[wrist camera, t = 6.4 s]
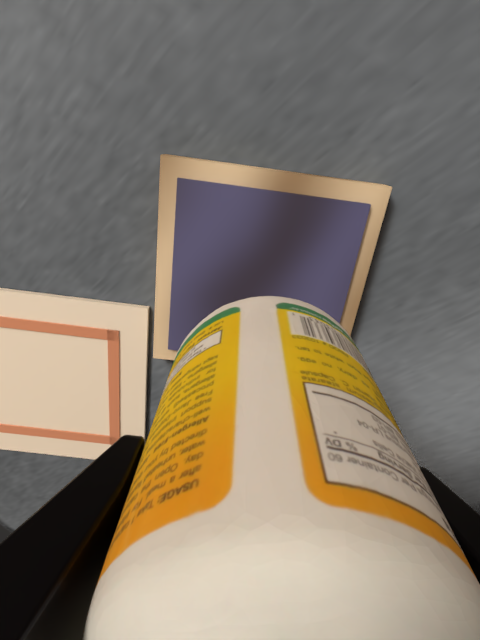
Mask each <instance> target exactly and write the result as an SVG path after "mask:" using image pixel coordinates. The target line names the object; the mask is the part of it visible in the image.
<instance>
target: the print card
mask: <svg viewBox="0 0 480 640" xmlns="http://www.w3.org/2000/svg"><path fill="white" fill-rule="evenodd" d="M148 334H149V306H142V305H134V304H126V303H118V302H110V301H102V300H94V299H86V298H78V297H70V296H62V295H54V294H46V293H38V292H30V291H22V290H14V289H6V288H0V449H4V450H13V451H23V452H32V453H41V454H50V455H59V456H68V457H78V458H87V459H97V458H98V457H99V456H100V455H101V454H102V453H104V452H105V451H106V450H107V449H108V448H109V447H110V446H111V445H113V444H114V443H115V442H116V441H117V440H118V439H119V438H121V437H122V436H123V435H135V436H142V437H143V438H144V441H145V434H146V401H147V368H148Z"/></svg>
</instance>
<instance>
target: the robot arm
mask: <svg viewBox="0 0 480 640" xmlns="http://www.w3.org/2000/svg"><path fill="white" fill-rule="evenodd" d="M144 446H145V441H144V438H143V437H142V436H135V435H123V436H122V437H121V438H119V439H118V440H117V441H116V442H115V443H114V444H113V445H111V446H110V447H109V448H108V449H107V450H106V451H105V452H104V453H102V454H101V455H100V456H99V457H98V458H97V459H96V460H94V461H93V462H92V463H91V464H90V465H89V466H88V467H86V468H85V469H84V470H83V471H82V472H81V473H80V474H79V475H77V476H76V477H75V478H74V479H73V480H72V481H71V482H69V483H68V484H67V485H66V486H65V487H64V488H63V489H61V490H60V491H59V492H58V493H57V494H56V495H55V496H54V497H52V498H51V499H50V500H49V501H48V502H47V503H46V504H44V505H43V506H42V507H41V508H40V509H39V510H38V511H36V512H35V513H34V514H33V515H32V516H31V517H30V518H28V519H27V520H26V521H25V522H24V523H23V524H22V525H21V526H19V527H18V528H17V529H16V530H15V531H14V532H13V533H11V534H10V535H9V536H8V537H7V538H6V539H5V540H3V541H2V542H1V543H0V640H82V637H83V632H84V626H85V621H86V617H87V614H88V611H89V607H90V604H91V600H92V597H93V594H94V591H95V588H96V585H97V582H98V579H99V576H100V573H101V571H102V568H103V565H104V562H105V559H106V555H107V552H108V549H109V547H110V544H111V541H112V538H113V536H114V533H115V530H116V528H117V525H118V522H119V519H120V516H121V513H122V510H123V507H124V504H125V502H126V499H127V496H128V493H129V490H130V487H131V485H132V482H133V479H134V476H135V473H136V470H137V467H138V464H139V461H140V459H141V456H142V453H143V450H144ZM419 468H420V470H421V472H422V474H423V476H424V477H425V479H426V481H427V483H428V485H429V487H430V489H431V491H432V493H433V495H434V497H435V498H436V500H437V502H438V504H439V506H440V508H441V510H442V512H443V514H444V516H445V518H446V520H447V522H448V524H449V526H450V527H451V529H452V531H453V533H454V535H455V537H456V539H457V541H458V543H459V545H460V547H461V549H462V551H463V553H464V555H465V557H466V559H467V561H468V563H469V565H470V566H471V568H472V570H473V572H474V574H475V576H476V578H477V580H478V582H479V584H480V515H479V514H478V513H477V512H476V511H474V510H473V509H472V508H471V507H470V506H469V505H468V504H466V503H465V502H464V501H463V500H462V499H461V498H459V497H458V496H457V495H456V494H455V493H454V492H453V491H451V490H450V489H449V488H448V487H447V486H446V485H444V484H443V483H442V482H441V481H440V480H439V479H438V478H436V477H435V476H434V475H433V474H432V473H431V472H429V471H428V470H427V469H426V468H423V467H419Z"/></svg>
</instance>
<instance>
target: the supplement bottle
mask: <svg viewBox="0 0 480 640" xmlns="http://www.w3.org/2000/svg"><path fill="white" fill-rule="evenodd" d="M82 640H480V584H479V582H478V580H477V578H476V576H475V574H474V572H473V570H472V568H471V566H470V565H469V563H468V561H467V559H466V557H465V555H464V553H463V551H462V549H461V547H460V545H459V543H458V541H457V539H456V537H455V535H454V533H453V531H452V529H451V527H450V526H449V524H448V522H447V520H446V518H445V516H444V514H443V512H442V510H441V508H440V506H439V504H438V502H437V500H436V498H435V497H434V495H433V493H432V491H431V489H430V487H429V485H428V483H427V481H426V479H425V477H424V476H423V474H422V472H421V470H420V468H419V466H418V464H417V462H416V459H415V458H414V456H413V454H412V452H411V450H410V448H409V446H408V444H407V442H406V441H405V439H404V437H403V435H402V433H401V431H400V429H399V427H398V425H397V424H396V422H395V420H394V418H393V416H392V414H391V412H390V410H389V408H388V406H387V404H386V402H385V400H384V398H383V396H382V394H381V393H380V390H379V388H378V386H377V384H376V383H375V381H374V379H373V377H372V375H371V373H370V371H369V369H368V367H367V365H366V363H365V361H364V359H363V357H362V355H361V354H360V352H359V350H358V348H357V347H356V345H355V343H354V342H353V340H352V338H351V337H350V335H349V334H348V333H347V331H346V330H345V329H344V328H343V327H342V326H341V325H340V324H339V323H338V322H337V321H336V320H335V319H333V318H332V317H331V316H330V315H328V314H327V313H325V312H324V311H322V310H321V309H319V308H317V307H315V306H313V305H311V304H309V303H306V302H303V301H300V300H297V299H291V298H286V297H279V296H258V297H250V298H246V299H242V300H238V301H235V302H232V303H229V304H226V305H224V306H222V307H220V308H218V309H217V310H215V311H214V312H212V313H211V314H210V315H208V316H207V317H206V318H204V319H203V320H202V321H201V322H200V323H199V324H198V325H197V326H196V327H195V328H194V329H193V330H192V331H191V332H190V333H189V334H188V336H187V337H186V338H185V340H184V341H183V343H182V344H181V346H180V348H179V350H178V352H177V354H176V357H175V359H174V362H173V365H172V368H171V371H170V374H169V377H168V380H167V383H166V385H165V388H164V391H163V394H162V397H161V400H160V403H159V406H158V409H157V412H156V415H155V418H154V421H153V424H152V427H151V429H150V432H149V435H148V438H147V441H146V444H145V446H144V450H143V453H142V456H141V459H140V461H139V464H138V467H137V470H136V473H135V476H134V479H133V482H132V485H131V487H130V490H129V493H128V496H127V499H126V502H125V504H124V507H123V510H122V513H121V516H120V519H119V522H118V525H117V528H116V530H115V533H114V536H113V538H112V541H111V544H110V547H109V549H108V552H107V555H106V559H105V562H104V565H103V568H102V571H101V573H100V576H99V579H98V582H97V585H96V588H95V591H94V594H93V597H92V600H91V604H90V607H89V611H88V614H87V617H86V621H85V626H84V632H83V637H82Z"/></svg>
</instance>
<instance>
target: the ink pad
mask: <svg viewBox="0 0 480 640" xmlns="http://www.w3.org/2000/svg"><path fill="white" fill-rule="evenodd" d="M391 190H392V187H390V186H387V185H383V184H376V183H369V182H362V181H355V180H348V179H340V178H333V177H326V176H319V175H312V174H304V173H297V172H290V171H283V170H276V169H269V168H261V167H254V166H247V165H240V164H233V163H226V162H218V161H211V160H204V159H197V158H190V157H182V156H175V155H168V154H163V155H161V157H160V184H159V211H158V238H157V265H156V292H155V319H154V347H153V358H159V359H167V360H174V359H175V357H176V354H177V352H178V350H179V348H180V346H181V344H182V343H183V341H184V340H185V338H186V337H187V336H188V334H189V333H190V332H191V331H192V330H193V329H194V328H195V327H196V326H197V325H198V324H199V323H200V322H201V321H202V320H203V319H204V318H206V317H207V316H208V315H210V314H211V313H212V312H214V311H215V310H217V309H218V308H220V307H222V306H224V305H226V304H229V303H232V302H235V301H238V300H242V299H246V298H250V297H258V296H279V297H286V298H291V299H297V300H300V301H303V302H306V303H309V304H311V305H313V306H315V307H317V308H319V309H321V310H322V311H324V312H325V313H327V314H328V315H330V316H331V317H332V318H333V319H335V320H336V321H337V322H338V323H339V324H340V325H341V326H342V327H343V328H344V329H345V330H346V331H347V333H348V334H349V335H351V331H352V328H353V324H354V321H355V317H356V314H357V310H358V307H359V303H360V300H361V296H362V292H363V289H364V285H365V282H366V278H367V275H368V271H369V268H370V264H371V261H372V257H373V254H374V250H375V246H376V243H377V239H378V236H379V232H380V229H381V225H382V222H383V218H384V215H385V211H386V208H387V204H388V200H389V197H390V193H391Z"/></svg>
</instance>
